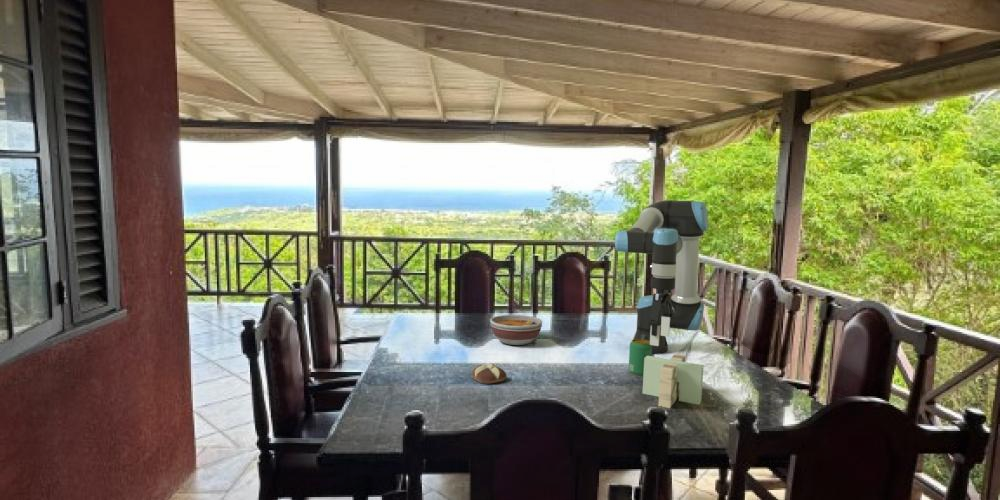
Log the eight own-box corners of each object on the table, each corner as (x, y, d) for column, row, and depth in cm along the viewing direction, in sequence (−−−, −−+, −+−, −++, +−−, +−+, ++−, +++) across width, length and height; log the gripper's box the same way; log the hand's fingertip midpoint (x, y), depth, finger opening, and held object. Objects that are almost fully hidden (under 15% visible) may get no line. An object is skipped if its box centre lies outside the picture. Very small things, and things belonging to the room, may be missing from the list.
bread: (468, 376, 194) (468, 362, 193) (498, 373, 198) (498, 360, 198) (479, 386, 184) (479, 372, 183) (510, 383, 188) (510, 369, 188)
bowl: (550, 341, 244) (551, 319, 244) (525, 352, 225) (525, 328, 224) (507, 333, 257) (507, 312, 256) (479, 343, 237) (479, 320, 237)
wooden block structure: (673, 387, 188) (675, 353, 187) (683, 389, 186) (685, 355, 185) (658, 405, 171) (660, 368, 169) (669, 408, 169) (672, 370, 168)
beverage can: (635, 368, 209) (637, 337, 207) (654, 373, 203) (656, 341, 202) (624, 372, 203) (625, 340, 202) (643, 377, 197) (645, 345, 196)
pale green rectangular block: (642, 393, 181) (644, 358, 180) (645, 390, 184) (647, 355, 183) (699, 404, 172) (701, 367, 171) (701, 401, 176) (703, 365, 174)
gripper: (661, 270, 190) (657, 330, 192) (640, 280, 168) (637, 347, 171) (683, 272, 186) (679, 333, 188) (665, 282, 164) (661, 351, 167)
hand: (659, 340), depth 179 cm, fingers open, 13 cm apart
